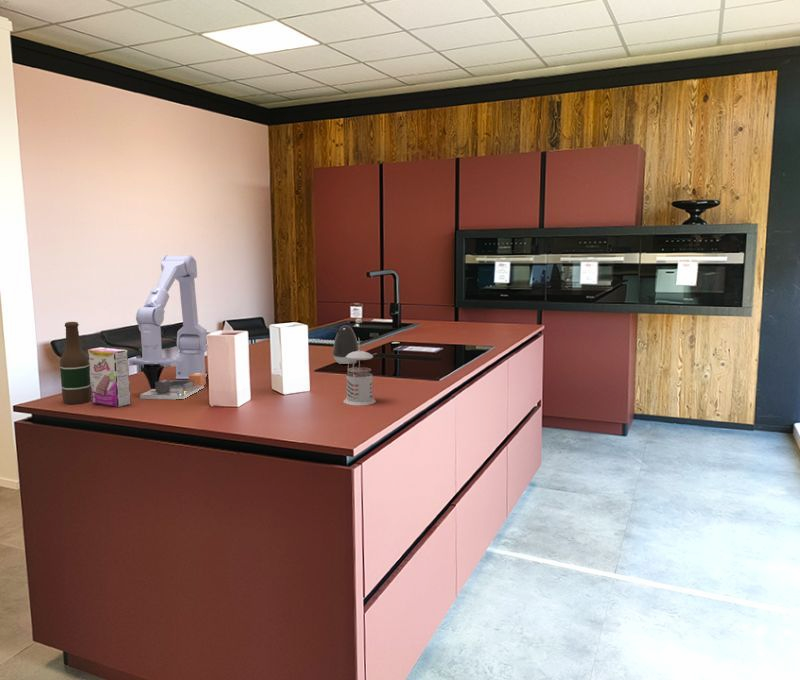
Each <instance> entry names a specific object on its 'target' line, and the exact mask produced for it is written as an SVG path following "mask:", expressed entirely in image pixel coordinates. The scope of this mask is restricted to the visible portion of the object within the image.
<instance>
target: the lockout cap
mask: <svg viewBox="0 0 800 680" xmlns="http://www.w3.org/2000/svg"><path fill="white" fill-rule="evenodd" d="M205 374H206V373H205ZM205 374H203V373H193V374H191V375H189V379H188V381H194V385H205V384H206V385H207V383H206V380H207V379H206V378H207V377H206V376H205ZM206 385H205V386H206Z"/></svg>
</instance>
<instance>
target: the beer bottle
mask: <svg viewBox="0 0 800 680" xmlns="http://www.w3.org/2000/svg"><path fill="white" fill-rule="evenodd" d="M79 326H80V325H79V323H78V321H67V322H65V323H64V327H65V349H64V351H63V353H62V354H61V356H60V359H59V368H60V369H59V370H60V382H61V385H60V386H61V394H62V395H61V396H62V402H63V403H64V404H67V405H80V404H85V403H88V402H90V401H92V396H91V382H90V369H89V357H88V355H87V353H86V352H85V351H84V350H83V348H82V346H81V340H80V333H79Z"/></svg>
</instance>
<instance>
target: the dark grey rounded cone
mask: <svg viewBox="0 0 800 680" xmlns="http://www.w3.org/2000/svg"><path fill="white" fill-rule="evenodd" d="M331 331H333V332H335V333H336V336H335V339H334V341H333V346H332V347H333V350H332V355H333V358H334V360H335V362H336V363H338V364H339V365H341V364H348V363H349V364H350V365H353V364H352V363H353V362H354V360H352V363H351V360H350V359H347V358H346V356H347V355H348V354H349V353H351V352H355V351H358V350H359V342H358V340H357V336H356V334H355V332H354V330H353V328H352V327H351V326H349V325H342V326H340V327H339V328H336V327H331ZM349 360H350V362H349ZM354 363H355V364H356V360H355V362H354Z"/></svg>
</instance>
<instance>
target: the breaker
mask: <svg viewBox="0 0 800 680" xmlns="http://www.w3.org/2000/svg"><path fill="white" fill-rule="evenodd" d="M170 381H171V380H170V379H159V381H157V382H155V390H156V392H161V393H165V392H167V391H169V390H170Z"/></svg>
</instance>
